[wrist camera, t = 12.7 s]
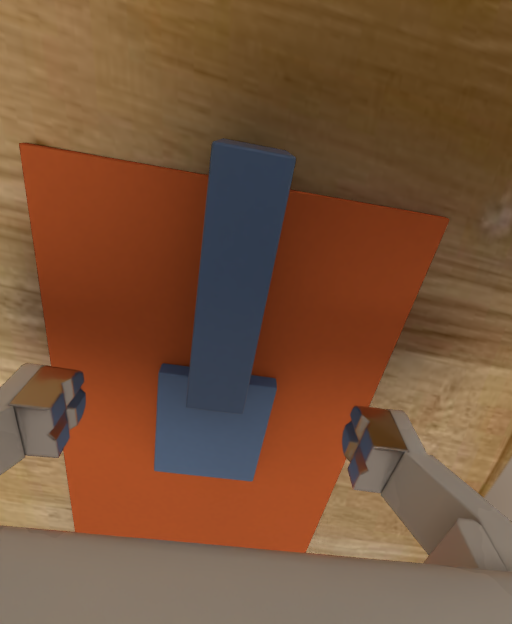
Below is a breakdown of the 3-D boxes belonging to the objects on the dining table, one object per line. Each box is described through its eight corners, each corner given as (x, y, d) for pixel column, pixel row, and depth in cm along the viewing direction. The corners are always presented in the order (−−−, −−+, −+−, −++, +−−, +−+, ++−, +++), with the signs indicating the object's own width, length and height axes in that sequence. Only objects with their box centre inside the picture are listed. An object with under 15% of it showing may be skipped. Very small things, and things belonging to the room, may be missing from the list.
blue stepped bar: (174, 128, 12) (152, 128, 9) (332, 159, 12) (352, 167, 10) (157, 459, 20) (143, 507, 17) (252, 469, 20) (252, 517, 18)
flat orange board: (25, 142, 12) (18, 142, 12) (445, 216, 14) (450, 219, 13) (83, 571, 26) (81, 577, 26) (287, 587, 28) (287, 593, 27)
